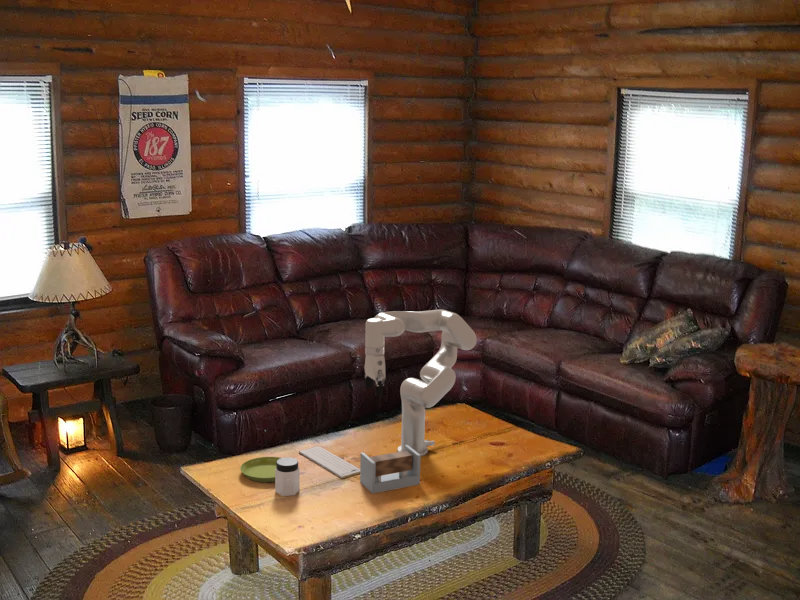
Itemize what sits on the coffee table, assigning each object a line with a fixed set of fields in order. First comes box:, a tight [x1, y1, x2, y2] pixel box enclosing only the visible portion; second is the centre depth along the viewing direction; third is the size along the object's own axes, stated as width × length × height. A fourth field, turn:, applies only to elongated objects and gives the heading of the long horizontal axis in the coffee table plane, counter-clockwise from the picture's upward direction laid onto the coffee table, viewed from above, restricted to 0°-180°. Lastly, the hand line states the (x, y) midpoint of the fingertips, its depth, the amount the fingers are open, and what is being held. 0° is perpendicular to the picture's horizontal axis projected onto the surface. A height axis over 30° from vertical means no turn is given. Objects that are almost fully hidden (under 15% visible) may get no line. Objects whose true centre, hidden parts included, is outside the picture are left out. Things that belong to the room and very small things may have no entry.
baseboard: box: [298, 445, 360, 479], centre depth 369 cm, size 31×3×12 cm
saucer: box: [239, 456, 281, 483], centre depth 356 cm, size 21×21×3 cm
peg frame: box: [359, 445, 422, 494], centre depth 349 cm, size 20×11×12 cm, turn 116°
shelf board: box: [368, 451, 412, 477], centre depth 349 cm, size 16×5×6 cm, turn 117°
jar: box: [274, 456, 300, 497], centre depth 340 cm, size 9×8×12 cm
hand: (374, 391), depth 362 cm, fingers open, 9 cm apart
